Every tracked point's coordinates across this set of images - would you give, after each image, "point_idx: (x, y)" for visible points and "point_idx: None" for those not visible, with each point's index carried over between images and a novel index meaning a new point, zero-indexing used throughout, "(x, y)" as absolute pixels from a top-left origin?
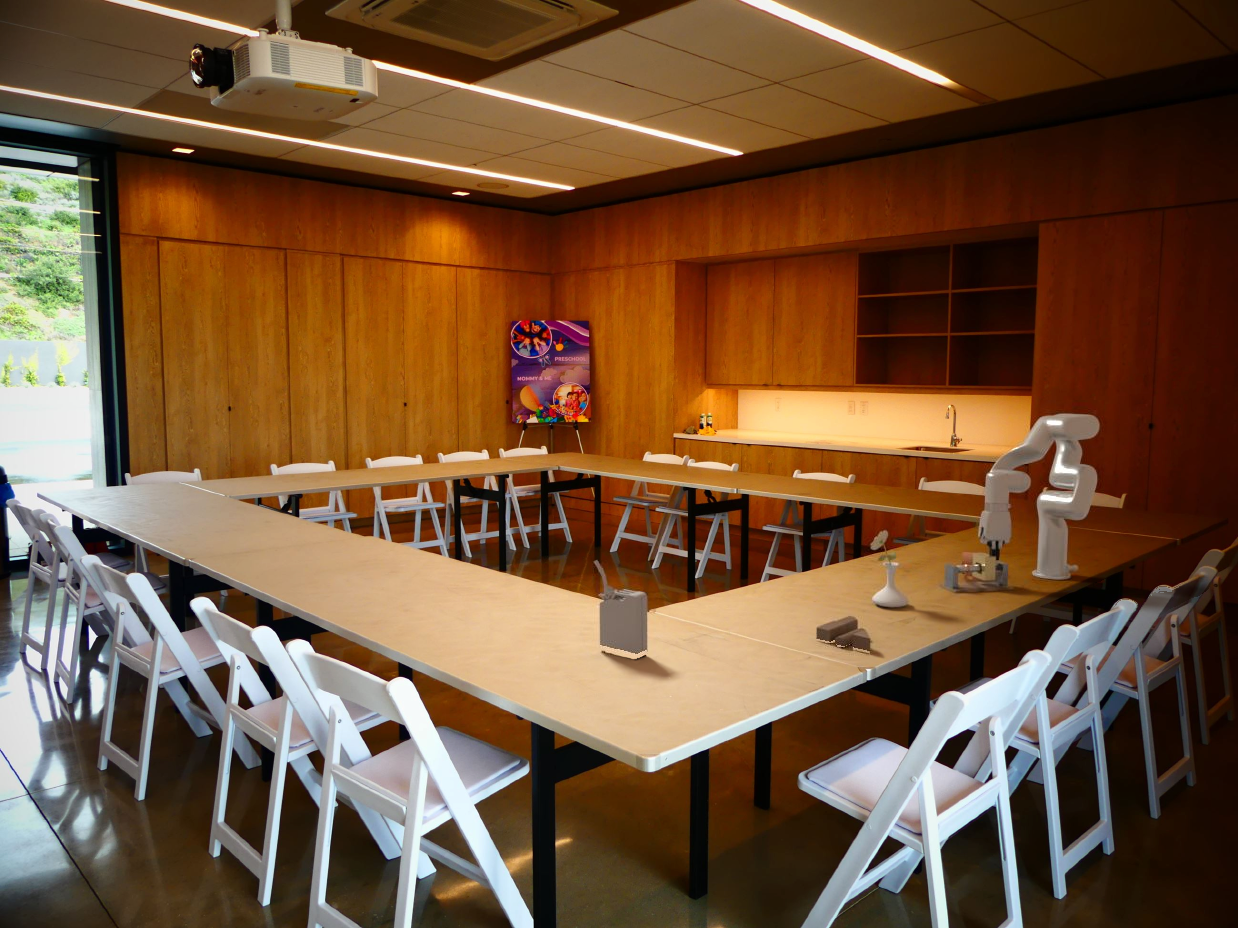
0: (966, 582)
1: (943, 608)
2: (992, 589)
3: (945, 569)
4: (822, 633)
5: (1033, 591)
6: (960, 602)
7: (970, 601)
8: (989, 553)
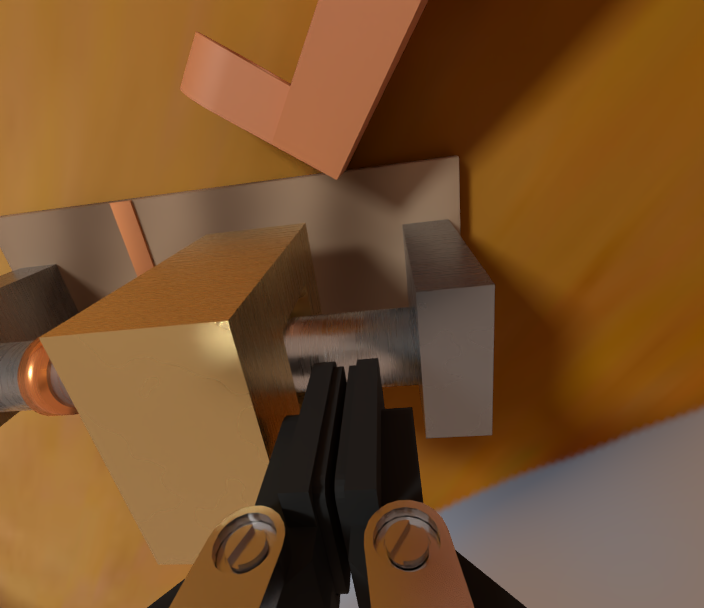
0: (193, 193)
1: (8, 562)
2: None
3: None
4: None
5: (556, 403)
6: (85, 513)
7: None
8: (276, 448)
